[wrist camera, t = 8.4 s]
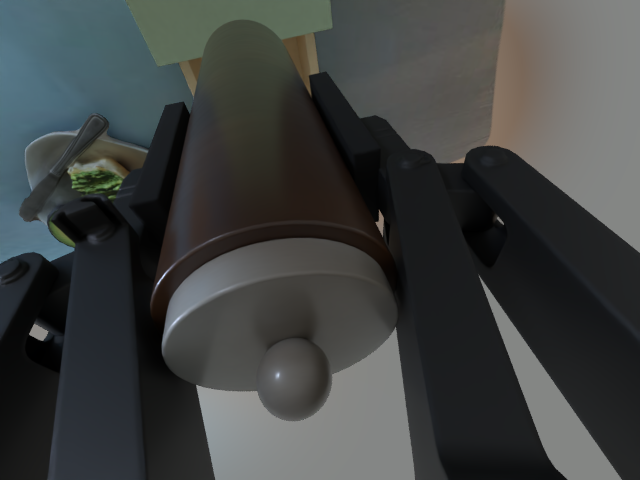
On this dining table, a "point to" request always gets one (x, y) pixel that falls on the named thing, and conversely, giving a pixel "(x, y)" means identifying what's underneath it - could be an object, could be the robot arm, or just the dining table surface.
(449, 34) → the dining table surface
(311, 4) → the cabinet
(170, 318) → the pepper mill
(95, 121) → the salad plate
